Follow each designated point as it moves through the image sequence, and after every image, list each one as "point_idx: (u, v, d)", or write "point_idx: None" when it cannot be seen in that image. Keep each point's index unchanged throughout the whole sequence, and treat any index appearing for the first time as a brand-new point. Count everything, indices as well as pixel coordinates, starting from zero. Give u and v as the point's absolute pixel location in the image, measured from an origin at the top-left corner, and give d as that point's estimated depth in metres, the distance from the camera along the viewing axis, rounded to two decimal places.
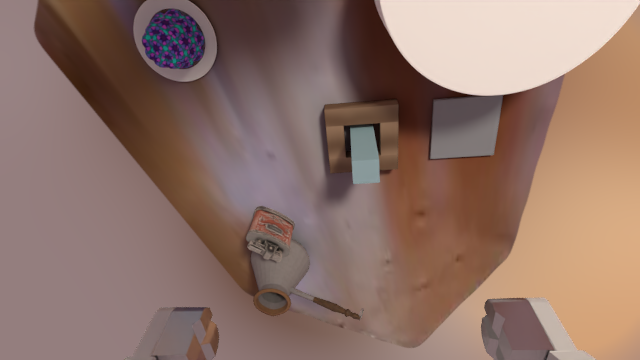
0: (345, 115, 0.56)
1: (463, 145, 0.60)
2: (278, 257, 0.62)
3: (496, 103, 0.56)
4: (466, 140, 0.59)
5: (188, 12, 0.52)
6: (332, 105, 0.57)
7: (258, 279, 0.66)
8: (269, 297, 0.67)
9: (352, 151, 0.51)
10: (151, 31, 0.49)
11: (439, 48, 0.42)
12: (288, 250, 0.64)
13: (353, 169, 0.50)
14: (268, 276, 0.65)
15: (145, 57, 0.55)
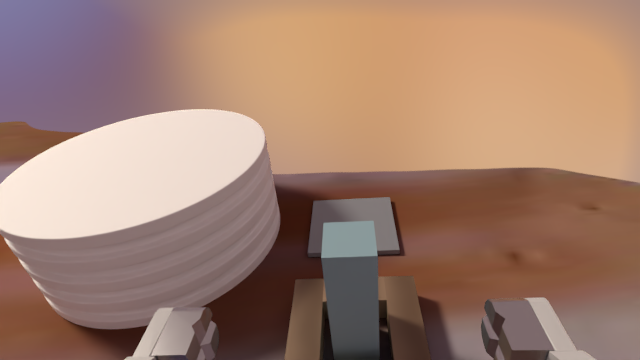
0: (298, 356, 0.29)
1: (376, 221, 0.45)
2: None
3: (322, 204, 0.49)
4: (369, 219, 0.45)
5: None
6: None
7: None
8: None
9: (325, 285, 0.25)
10: None
11: (186, 186, 0.35)
12: None
13: (340, 255, 0.24)
14: None
15: None
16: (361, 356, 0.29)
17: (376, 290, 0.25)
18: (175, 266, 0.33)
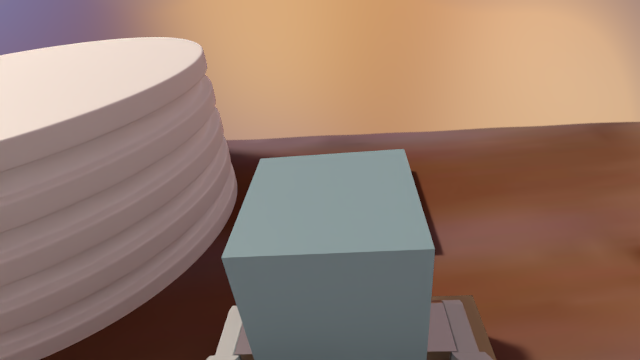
0: None
1: None
2: None
3: None
4: None
5: None
6: None
7: None
8: None
9: None
10: None
11: (15, 116, 0.17)
12: None
13: (292, 250, 0.06)
14: None
15: None
16: None
17: None
18: None
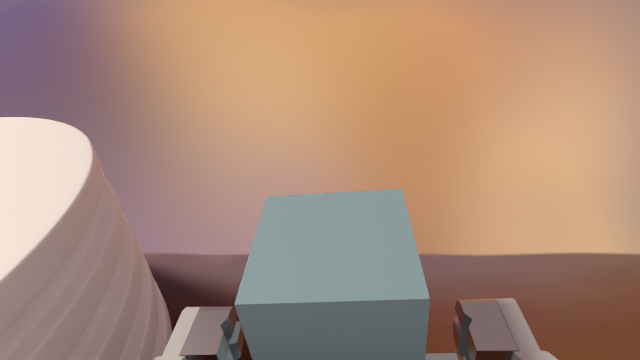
0: None
1: None
2: None
3: None
4: None
5: None
6: None
7: None
8: None
9: None
10: None
11: None
12: None
13: (299, 296, 0.07)
14: None
15: None
16: None
17: None
18: None
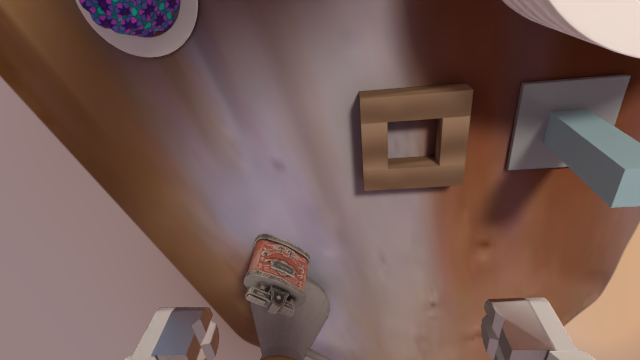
0: (391, 106, 0.37)
1: None
2: (289, 310, 0.44)
3: (617, 89, 0.37)
4: None
5: None
6: (370, 91, 0.39)
7: (261, 337, 0.48)
8: None
9: (606, 152, 0.31)
10: None
11: None
12: (303, 298, 0.46)
13: (622, 183, 0.29)
14: (275, 334, 0.46)
15: (111, 39, 0.37)
16: (552, 136, 0.39)
17: (589, 185, 0.33)
18: None
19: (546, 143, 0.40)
